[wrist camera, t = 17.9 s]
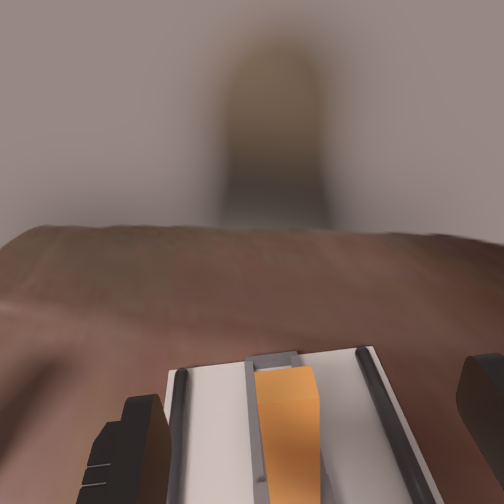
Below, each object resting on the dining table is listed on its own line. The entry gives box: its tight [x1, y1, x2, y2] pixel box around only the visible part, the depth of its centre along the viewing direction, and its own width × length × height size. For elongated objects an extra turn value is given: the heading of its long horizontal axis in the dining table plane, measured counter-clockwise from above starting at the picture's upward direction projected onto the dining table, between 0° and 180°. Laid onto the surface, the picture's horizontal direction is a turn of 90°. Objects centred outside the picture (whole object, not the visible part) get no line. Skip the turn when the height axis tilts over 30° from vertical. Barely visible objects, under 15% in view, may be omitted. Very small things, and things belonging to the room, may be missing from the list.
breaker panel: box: [164, 346, 444, 504], centre depth 32 cm, size 20×18×3 cm
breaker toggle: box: [253, 366, 335, 504], centre depth 23 cm, size 5×3×12 cm, turn 94°
